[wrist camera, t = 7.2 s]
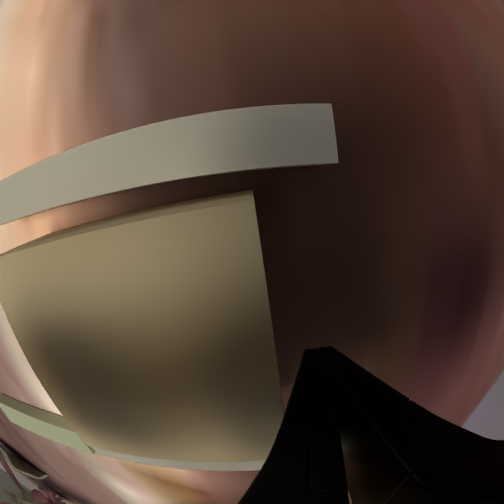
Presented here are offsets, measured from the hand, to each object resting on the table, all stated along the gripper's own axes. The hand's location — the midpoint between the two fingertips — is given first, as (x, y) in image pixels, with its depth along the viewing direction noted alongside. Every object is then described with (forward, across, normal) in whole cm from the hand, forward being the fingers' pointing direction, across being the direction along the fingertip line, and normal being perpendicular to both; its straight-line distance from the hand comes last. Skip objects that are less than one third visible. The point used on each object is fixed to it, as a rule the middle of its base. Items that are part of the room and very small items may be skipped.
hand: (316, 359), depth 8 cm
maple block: (+2, +5, -1) cm, 6 cm away
